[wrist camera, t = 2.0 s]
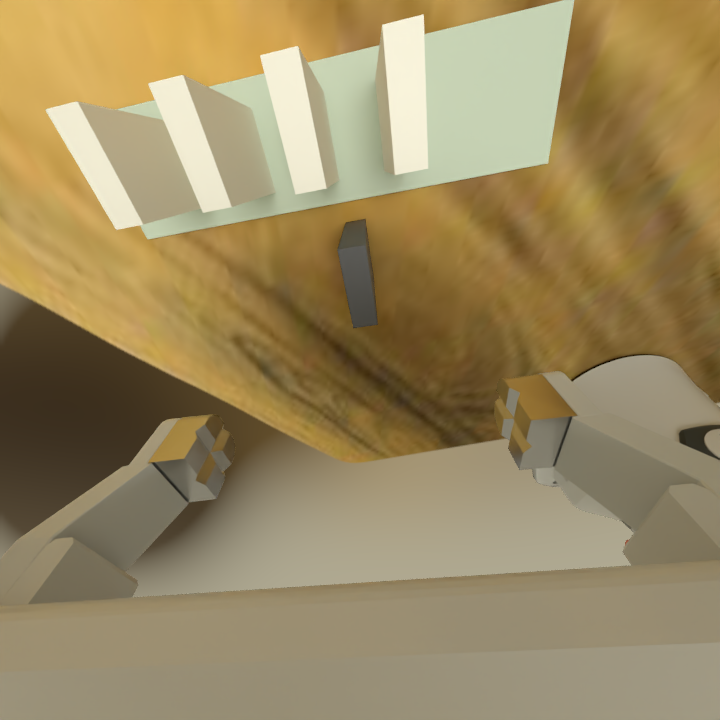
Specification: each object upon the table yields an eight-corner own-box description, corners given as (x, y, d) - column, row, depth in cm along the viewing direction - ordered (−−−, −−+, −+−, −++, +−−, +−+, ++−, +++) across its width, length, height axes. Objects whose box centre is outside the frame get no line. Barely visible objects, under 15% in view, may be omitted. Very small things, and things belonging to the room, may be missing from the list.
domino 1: (215, 204, 23) (143, 224, 15) (196, 208, 23) (116, 229, 16) (183, 124, 20) (77, 101, 13) (162, 129, 20) (45, 109, 13)
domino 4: (405, 166, 21) (428, 168, 14) (384, 171, 21) (395, 175, 14) (399, 74, 19) (423, 14, 11) (375, 80, 19) (382, 24, 11)
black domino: (373, 278, 26) (377, 324, 19) (356, 281, 26) (353, 327, 19) (365, 219, 24) (365, 244, 16) (345, 222, 24) (337, 249, 16)
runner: (546, 163, 21) (547, 163, 21) (149, 238, 25) (147, 239, 24) (572, -1, 17) (574, -3, 17) (83, 118, 20) (81, 117, 20)
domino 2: (275, 192, 22) (231, 207, 15) (256, 196, 23) (202, 212, 15) (251, 108, 20) (182, 74, 12) (229, 113, 20) (148, 83, 12)
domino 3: (339, 180, 22) (326, 188, 14) (318, 184, 22) (295, 194, 15) (323, 91, 19) (297, 46, 12) (300, 97, 19) (260, 55, 12)
